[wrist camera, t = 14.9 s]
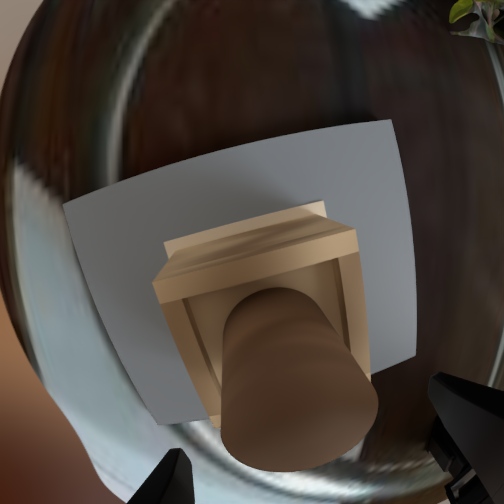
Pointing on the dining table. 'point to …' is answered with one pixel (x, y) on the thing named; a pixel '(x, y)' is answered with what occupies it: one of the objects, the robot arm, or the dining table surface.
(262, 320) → the walnut peg
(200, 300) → the oak socket block
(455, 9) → the passion flower
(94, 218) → the grey rectangular plate
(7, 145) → the dining table surface
